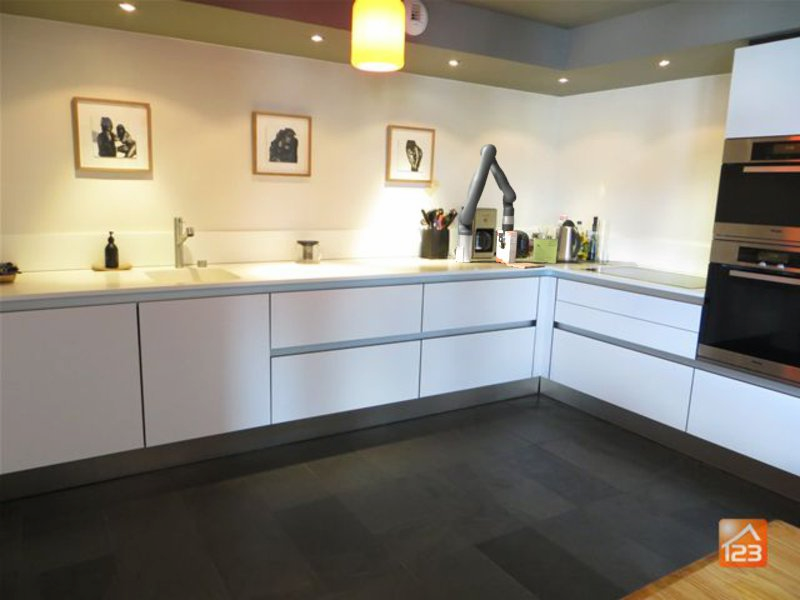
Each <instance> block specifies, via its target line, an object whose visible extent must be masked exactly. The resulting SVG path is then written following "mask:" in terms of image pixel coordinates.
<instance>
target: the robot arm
mask: <svg viewBox="0 0 800 600" xmlns="http://www.w3.org/2000/svg"><path fill="white" fill-rule="evenodd" d="M497 152H498V150H497V147H496V146H495V145H494V144H492V143H489V144H484V145H483V146H481V148H480V150H479V154H480V161H479V163H478V166H477V169H476V170H475V172H474V173H473V175H472V178H471V181H470V184H469V185H468V186H469V187H468V191H467V197H466V202H465V204H464V207H463V209H462V210H461V211H460V212H459V214H458V223H457V224H458V226H457V246H456V247H455V248H456V249H455V262H456V261H457V262H458V263H471V262H472V253H473V252H472V250H473V235H474V230H473V225H474V220H475V216H476V212H477V208H478V207H477V206H478V204H479V202H480V200H481V197H482V195H483V193H484V190H485V187H486V183H487V180H488V178H489V174H490V172H491V174H492V176H493V178H494V180H495V183H496V185H497V186H498V189H499V191H501V192H502V194H503V195H502V208H503V209H502V211H503V212H502V221H501V222H502V223H501V230H502V231H503V233H499V240H498V242H500V243H501V249H504V242H505V239H506V238H503V237H504V236H505V233H506V231H513V232H514V229H515V207H514V202H516V201H517V193H516V192H515V190H514V189H513V187H512V186H511V184H510V181H509V180H508V177H507V175H506V174H505V172H504V170H503V169H502V168H501V166H500V165H499V163H498V160H497V158H496V156H497ZM500 238H501V240H500ZM457 262H456V263H457Z"/></svg>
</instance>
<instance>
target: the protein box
mask: <svg viewBox="0 0 800 600" xmlns="http://www.w3.org/2000/svg"><path fill="white" fill-rule="evenodd" d="M558 249H559V239H556V238H555V239H554V238H542V237H541V238H539V237H537V238H534V244H533V254H532V255H533V256H532V263H534V262H535V263H544V262H548V263H547V264H556V263H557V260H558Z"/></svg>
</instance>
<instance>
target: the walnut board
mask: <svg viewBox="0 0 800 600" xmlns="http://www.w3.org/2000/svg"><path fill="white" fill-rule="evenodd" d="M505 265H507V266H506V267H511V266H513V268H517V267H518V268H520V269H534V268H536V269H537V268H545V264H541V263H540V264H539V263H534V262H515V263H513V264H505Z"/></svg>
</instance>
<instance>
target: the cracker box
mask: <svg viewBox="0 0 800 600" xmlns="http://www.w3.org/2000/svg"><path fill="white" fill-rule="evenodd" d="M499 233H503V231H502V229H500V230H499V229H498V230H497V238H496V252H495V253H496V254H495V263H499V262H501V263H500V264H504V263H505V264H504V265H506V264H513V263H516V258H517V257H516V256H517V243H518V242H517V241H518V232H517V231H514V230H513V231H506V233H505V236H504V237H503V238H506V239H505V242H504V249H501V243H500V242H498V240H499ZM500 240H501V238H500Z"/></svg>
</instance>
